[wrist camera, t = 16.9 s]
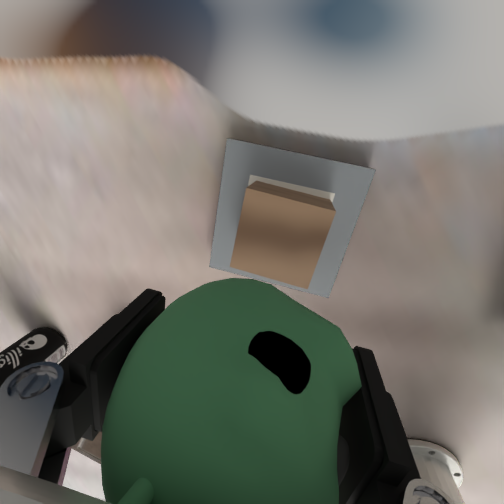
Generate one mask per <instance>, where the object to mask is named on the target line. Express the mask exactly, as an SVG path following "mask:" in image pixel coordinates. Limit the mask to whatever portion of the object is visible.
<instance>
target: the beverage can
mask: <svg viewBox="0 0 504 504" xmlns="http://www.w3.org/2000/svg"><path fill="white" fill-rule="evenodd" d="M66 350H67V343H66V341H65V339H64V338H63V336H62V335H61V334H60V333H58V332H57V331H55V330H53V329H51V328H37V329H34V330H33V331H31V332H30V333H28V334H27V335H25V336H24V337H22V338H21V339H20V340H18V341H17V342H15V343H14V344H12V345H11V346H9V347H8V348H6V349H5V350H3V351H2V352H0V387H1V385H2V384H3V383H4V381H5V380H6V379H7V378H8V377H9V376H10V375H12V374H13V373H14V372H15V371H17V370H19V369H21V368H23V367H25V366H27V365H30V364H33V363H38V362H54V363H58V362H59V361H60V360H61V359H62V358H63V357H64V356H65V355H66Z"/></svg>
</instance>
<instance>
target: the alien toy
mask: <svg viewBox="0 0 504 504" xmlns="http://www.w3.org/2000/svg"><path fill="white" fill-rule="evenodd" d="M361 387H362V385H361V380H360V376H359V371H358V366H357V362H356V359H355V356H354V353H353V350H352V348H351V346H350V345H349V343H348V341H347V340H346V338H345V336H344V335H343V333H342V331H341V329H340V328H339V327H337V326H336V325H334V324H333V323H331V322H329V321H328V320H326V319H324V318H323V317H321V316H319V315H318V314H316V313H314V312H313V311H311V310H309V309H308V308H306V307H304V306H303V305H301V304H300V303H298V302H296V301H295V300H293V299H292V298H290V297H289V296H287V295H286V294H284V293H283V292H281V291H280V290H278V289H277V288H275V287H274V286H272V285H271V284H268V283H264V282H261V281H258V280H254V279H240V278H229V279H224V280H219V281H214V282H210V283H207V284H204V285H202V286H200V287H198V288H196V289H194V290H192V291H190V292H188V293H186V294H185V295H183V296H181V297H179V298H178V299H176V300H175V301H174V302H172V303H171V304H170V305H169V306H168V307H167V308H166V309H165V310H164V311H163V312H162V313H161V314H160V315H159V316H158V317H157V318H156V319H155V320H154V321H153V322H152V323H151V324H150V325H149V326H148V327H147V328H146V329H145V331H144V332H143V333H142V335H141V336H140V337H139V338H138V340H137V341H136V343H135V344H134V346H133V348H132V349H131V351H130V352H129V354H128V356H127V358H126V360H125V363H124V365H123V367H122V369H121V371H120V373H119V376H118V378H117V380H116V383H115V385H114V388H113V390H112V393H111V396H110V399H109V402H108V405H107V409H106V413H105V418H104V423H103V428H102V440H101V470H102V486H103V490H104V495H105V500H106V502H108V503H111V504H339V485H340V483H341V482H342V480H343V478H344V476H345V474H346V472H347V469H348V466H349V461H350V452H349V446H348V443H347V442H346V440H345V439H344V438H343V437H342V436H341V435H339V429H340V422H341V415H342V408H343V406H344V405H345V404H346V403H347V402H348V400H349V399H350V398H351V397H352V396H353V395H354V394H355V393H356V392H357V391H358V390H359V389H360V388H361Z"/></svg>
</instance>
